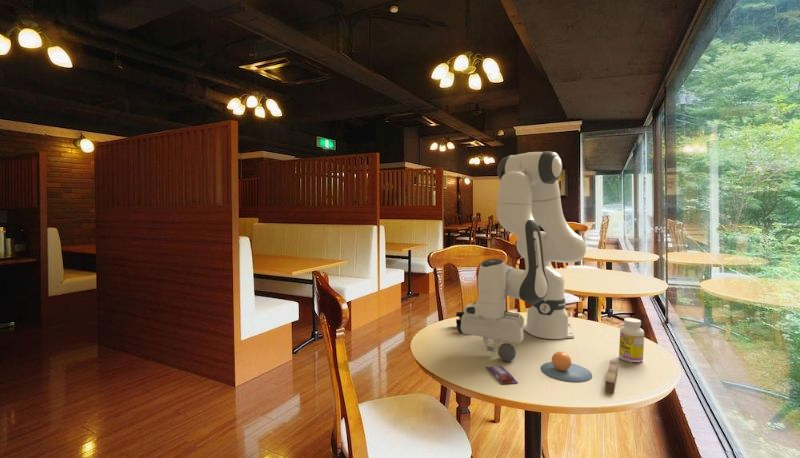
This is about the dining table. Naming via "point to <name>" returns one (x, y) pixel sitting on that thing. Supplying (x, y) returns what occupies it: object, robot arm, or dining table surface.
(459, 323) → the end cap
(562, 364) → the object ball
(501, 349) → the dark gray ball
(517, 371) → the dining table surface
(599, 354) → the dining table surface
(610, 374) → the wall
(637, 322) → the supplement bottle
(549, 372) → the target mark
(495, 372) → the snack package
